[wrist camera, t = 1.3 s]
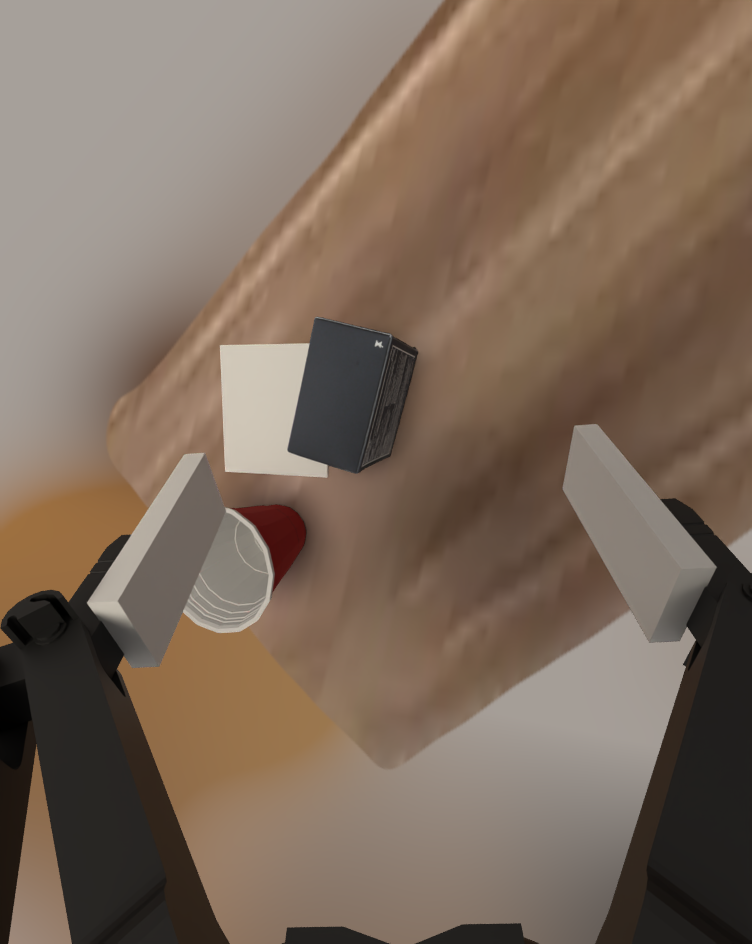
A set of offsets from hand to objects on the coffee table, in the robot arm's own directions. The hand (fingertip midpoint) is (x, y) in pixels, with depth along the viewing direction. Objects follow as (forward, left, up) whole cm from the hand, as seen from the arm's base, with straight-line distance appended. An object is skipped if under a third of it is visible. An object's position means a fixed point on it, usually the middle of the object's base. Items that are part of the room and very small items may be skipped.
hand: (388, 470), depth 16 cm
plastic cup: (+18, +11, -26) cm, 33 cm away
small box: (+8, -3, -26) cm, 27 cm away
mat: (+18, -1, -26) cm, 31 cm away
